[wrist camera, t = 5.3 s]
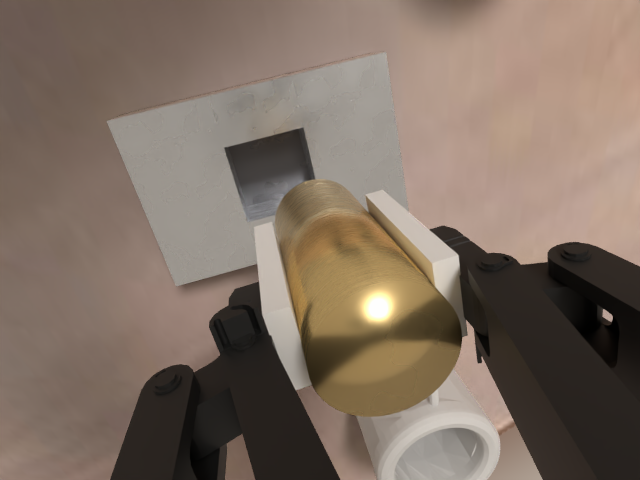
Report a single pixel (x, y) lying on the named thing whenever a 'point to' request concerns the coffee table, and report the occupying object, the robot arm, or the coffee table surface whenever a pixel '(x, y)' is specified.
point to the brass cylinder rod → (361, 305)
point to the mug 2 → (434, 438)
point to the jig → (257, 157)
